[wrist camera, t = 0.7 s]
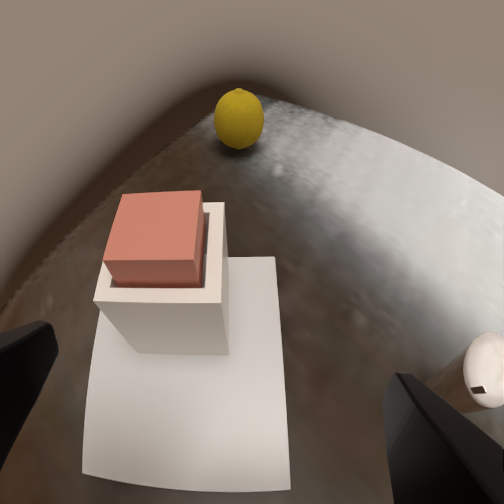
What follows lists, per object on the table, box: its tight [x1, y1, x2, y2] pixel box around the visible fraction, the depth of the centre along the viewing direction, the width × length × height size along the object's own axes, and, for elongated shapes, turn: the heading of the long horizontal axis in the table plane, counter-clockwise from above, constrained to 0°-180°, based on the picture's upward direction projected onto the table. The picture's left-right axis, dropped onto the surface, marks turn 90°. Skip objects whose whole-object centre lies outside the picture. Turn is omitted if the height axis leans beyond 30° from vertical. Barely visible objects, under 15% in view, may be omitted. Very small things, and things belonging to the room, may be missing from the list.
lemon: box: [214, 88, 264, 150], centre depth 33 cm, size 6×6×8 cm
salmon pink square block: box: [103, 191, 206, 288], centre depth 16 cm, size 4×4×3 cm
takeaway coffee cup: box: [424, 333, 504, 414], centre depth 15 cm, size 4×5×10 cm
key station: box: [82, 202, 291, 492], centre depth 18 cm, size 18×14×9 cm
